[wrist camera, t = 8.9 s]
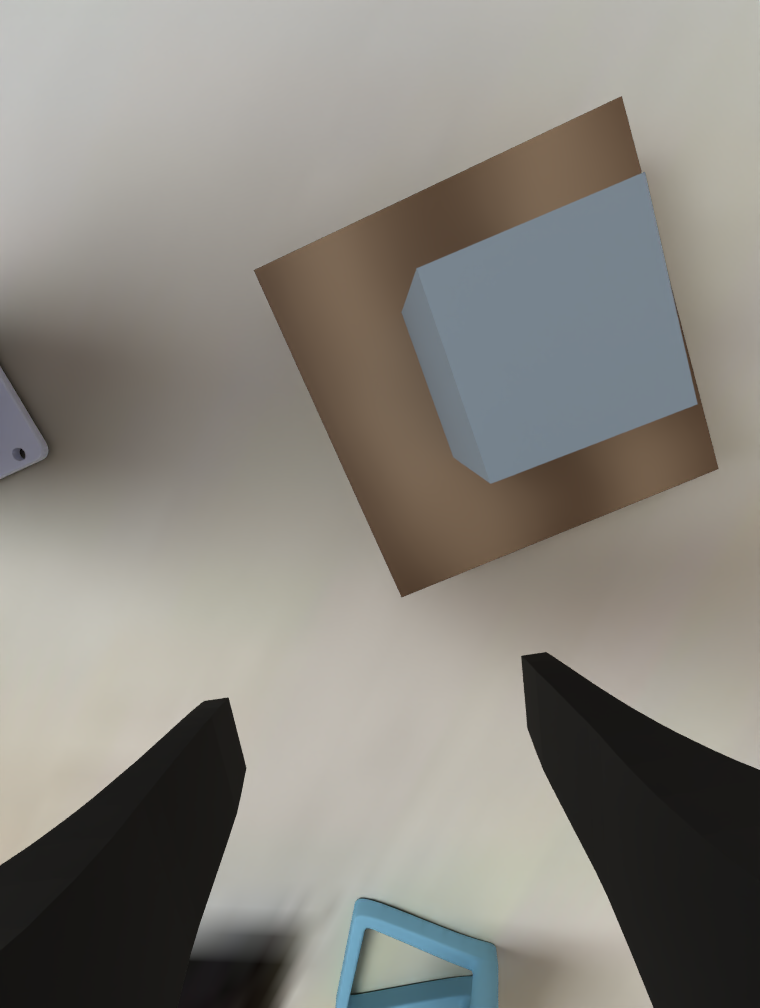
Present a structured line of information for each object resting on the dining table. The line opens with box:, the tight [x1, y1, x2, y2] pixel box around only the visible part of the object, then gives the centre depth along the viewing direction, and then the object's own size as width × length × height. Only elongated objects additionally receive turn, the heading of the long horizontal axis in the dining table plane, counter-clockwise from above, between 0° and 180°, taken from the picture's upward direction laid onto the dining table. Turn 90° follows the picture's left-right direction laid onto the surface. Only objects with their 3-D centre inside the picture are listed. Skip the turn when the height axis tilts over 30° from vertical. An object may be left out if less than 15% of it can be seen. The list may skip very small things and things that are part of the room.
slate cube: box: [401, 172, 697, 484], centre depth 12 cm, size 5×5×5 cm
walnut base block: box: [254, 96, 718, 597], centre depth 17 cm, size 12×12×4 cm
